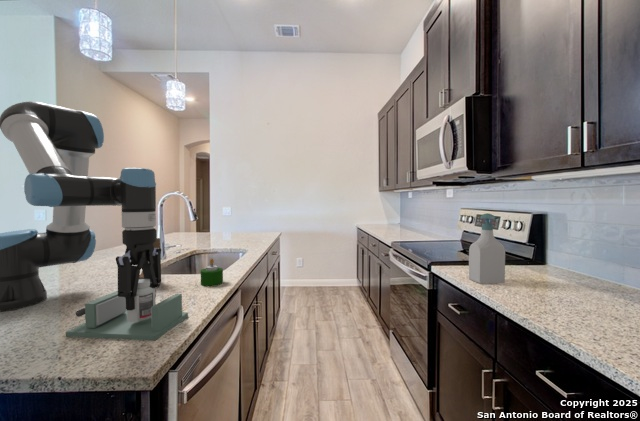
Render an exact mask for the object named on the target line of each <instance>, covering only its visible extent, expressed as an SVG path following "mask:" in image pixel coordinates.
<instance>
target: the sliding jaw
mask: <svg viewBox="0 0 640 421" xmlns="http://www.w3.org/2000/svg"><path fill="white" fill-rule="evenodd" d="M125 312H126V298H125V297H118V290H116V291H113V292H111V293H109V294H106V295H103V296H100V297H98V298H95V299H94V300H91V301H88V302H85V303H84V307H83V308H81V309H78V310H76V311H75V315H76V317H77V318H78V317H79V318H80V317H82V316H84V315H85V316H84V318H85V320H84V323H86V328H95V327H97V326H99V325H101V324H103V323H105V322H107V321H109V320H111V319H113V318H115V317H117V316H119V315H121V314H123V313H125Z"/></svg>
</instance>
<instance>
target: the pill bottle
mask: <svg viewBox="0 0 640 421" xmlns="http://www.w3.org/2000/svg"><path fill="white" fill-rule="evenodd" d="M149 286H150V279H139V281H138V287H137V293H136V296H139V315H140V321H143V320H147V319H149V318H151V307H152V306H154V295H153V294H154V293H153V288H151V287H149Z"/></svg>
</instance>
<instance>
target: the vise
mask: <svg viewBox="0 0 640 421" xmlns="http://www.w3.org/2000/svg"><path fill="white" fill-rule="evenodd" d="M182 294H183V293H175V294H173V295H171V296H168V297H167V298H164V300H162V301H160V302H158V303H156V305H154V306H152V307H151V318H149V319H147V320H143V321H139V322H127V310H126V312H125V313H123V314H121V315H119V316H117V317H115V318H113V319H111V320H109V321H107V322H105V323H103V324H101V325H99V326H97V327H95V328H86V323H85V322H84V323H82V324H80V325H77V326H75V327H73V328H71V329H69V330H67V331H65V338H81V339H82V338H83V339H87V338H88V339H104V340H105V339H108V340H130V341H131V340H133V341H135V340H136V341H152V342H153V341H157V340H159V339H160V338H161V337H163V335H165V334H166V333H168V332H169V331H170V330H173V328H175V327H176V326H178V325H179V324H180V323H182V322H183V321H184V320H185V319H187V318H188V316H189V312H186V311H185V312H183V302H182V301H183V300H182V299H183V298H182V297H183V295H182Z"/></svg>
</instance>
